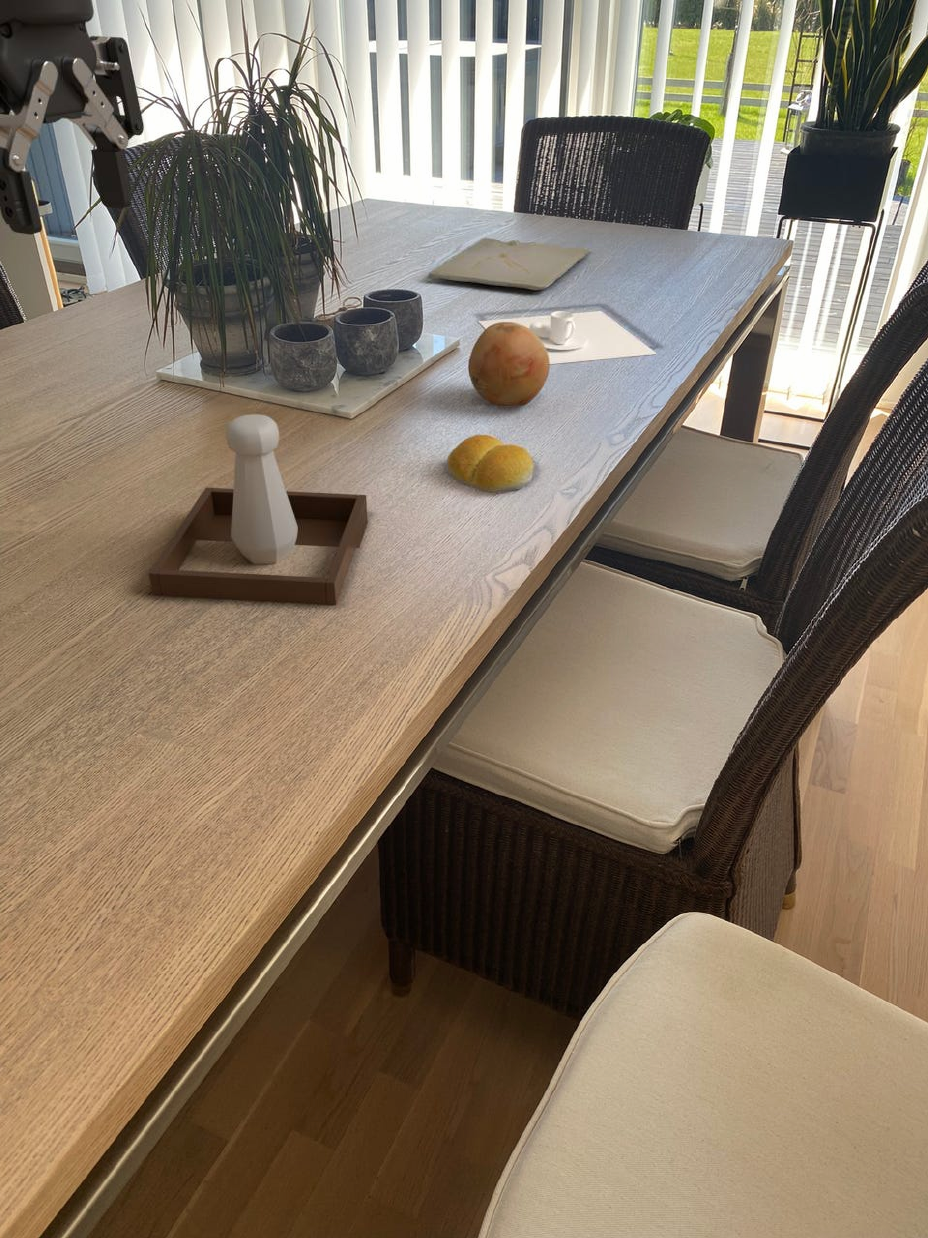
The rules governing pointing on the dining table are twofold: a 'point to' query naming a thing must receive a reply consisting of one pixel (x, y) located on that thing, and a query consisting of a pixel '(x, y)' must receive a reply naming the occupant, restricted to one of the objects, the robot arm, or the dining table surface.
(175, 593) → the tray
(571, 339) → the teacup and saucer
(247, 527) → the salt shaker
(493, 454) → the bread roll
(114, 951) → the dining table surface
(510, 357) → the onion
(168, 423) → the dining table surface
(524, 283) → the decorative slab
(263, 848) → the dining table surface
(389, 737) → the dining table surface
